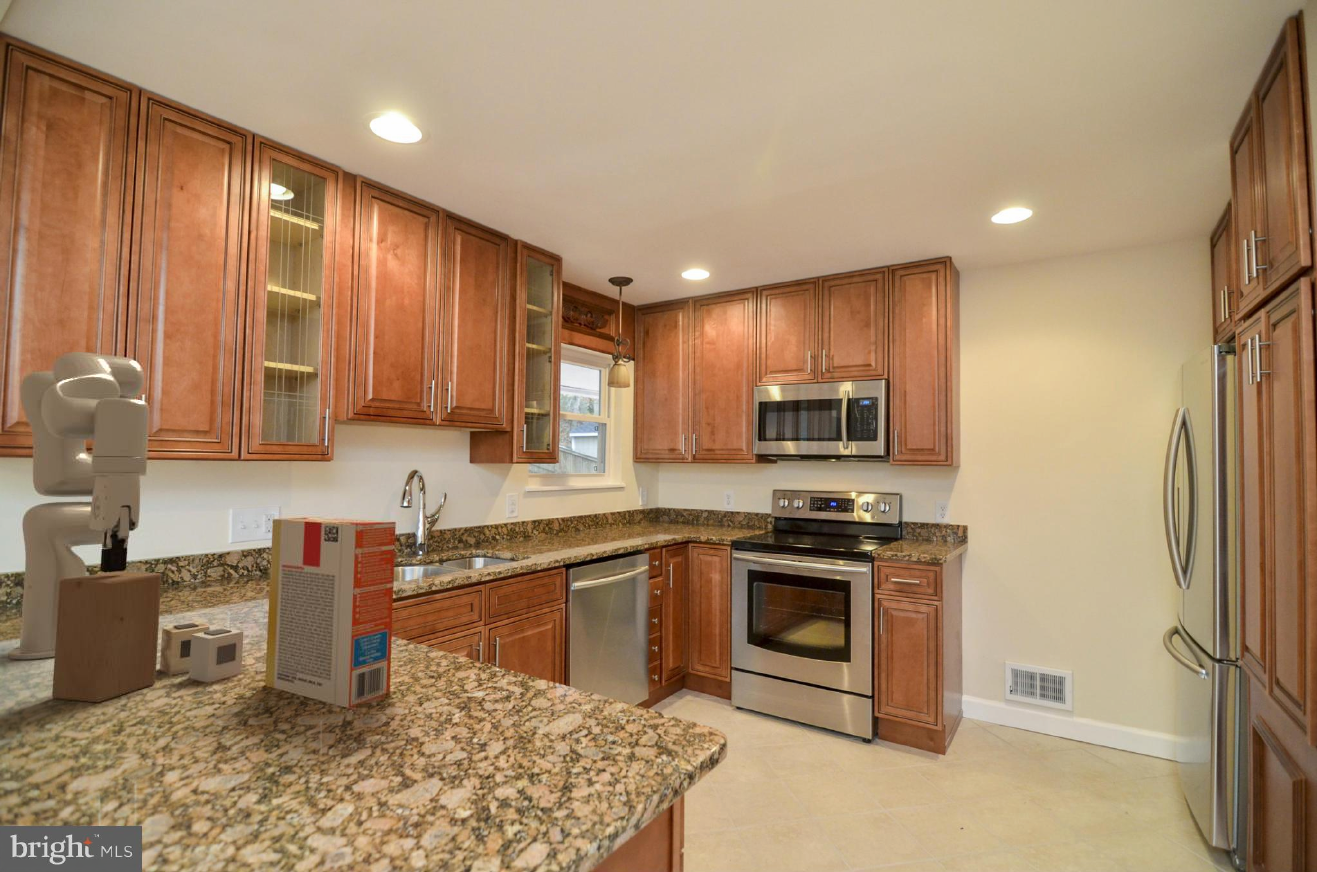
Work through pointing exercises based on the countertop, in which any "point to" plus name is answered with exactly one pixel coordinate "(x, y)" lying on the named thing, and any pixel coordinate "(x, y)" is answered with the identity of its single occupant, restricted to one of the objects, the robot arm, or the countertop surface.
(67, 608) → the wooden block
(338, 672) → the pasta box
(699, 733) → the countertop surface
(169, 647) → the marked beech block
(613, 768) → the countertop surface
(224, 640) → the marked grey block
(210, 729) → the countertop surface
